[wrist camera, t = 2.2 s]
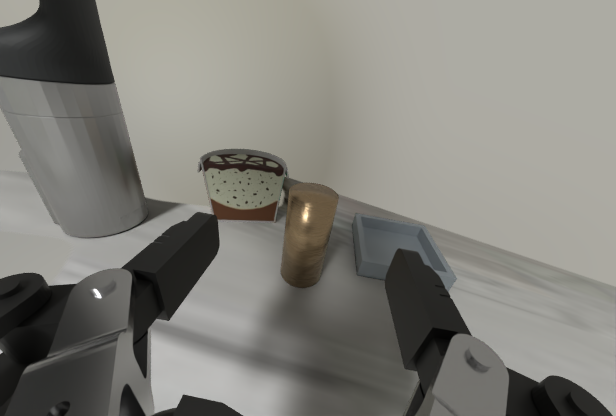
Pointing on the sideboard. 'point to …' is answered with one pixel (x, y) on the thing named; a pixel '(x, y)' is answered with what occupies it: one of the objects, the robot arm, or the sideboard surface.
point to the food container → (243, 184)
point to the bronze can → (307, 232)
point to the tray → (394, 247)
